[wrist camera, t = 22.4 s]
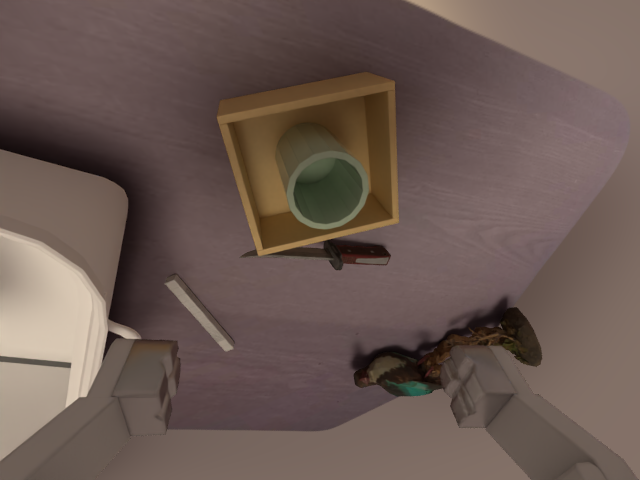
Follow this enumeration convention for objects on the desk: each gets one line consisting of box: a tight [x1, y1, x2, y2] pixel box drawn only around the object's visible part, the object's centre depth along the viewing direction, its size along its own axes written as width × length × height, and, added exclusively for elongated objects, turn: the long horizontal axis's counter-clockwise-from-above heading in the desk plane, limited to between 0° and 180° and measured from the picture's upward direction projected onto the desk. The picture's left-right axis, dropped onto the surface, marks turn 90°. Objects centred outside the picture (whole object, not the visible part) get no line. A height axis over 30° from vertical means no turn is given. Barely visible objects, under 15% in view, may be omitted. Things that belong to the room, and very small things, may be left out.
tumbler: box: [275, 122, 369, 229], centre depth 30 cm, size 6×6×9 cm
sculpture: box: [354, 307, 542, 396], centre depth 49 cm, size 8×14×25 cm
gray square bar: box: [165, 274, 234, 351], centre depth 41 cm, size 12×1×1 cm, turn 22°
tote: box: [217, 72, 399, 256], centre depth 31 cm, size 12×13×7 cm
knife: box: [239, 240, 391, 270], centre depth 37 cm, size 17×1×5 cm, turn 75°
